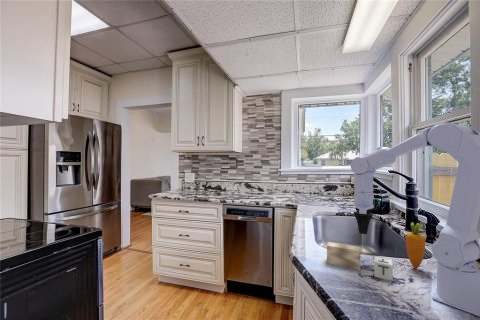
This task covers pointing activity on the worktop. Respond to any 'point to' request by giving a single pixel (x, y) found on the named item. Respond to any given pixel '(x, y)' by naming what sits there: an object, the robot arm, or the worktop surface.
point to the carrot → (415, 245)
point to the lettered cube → (383, 268)
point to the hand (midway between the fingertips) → (363, 230)
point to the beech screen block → (343, 255)
